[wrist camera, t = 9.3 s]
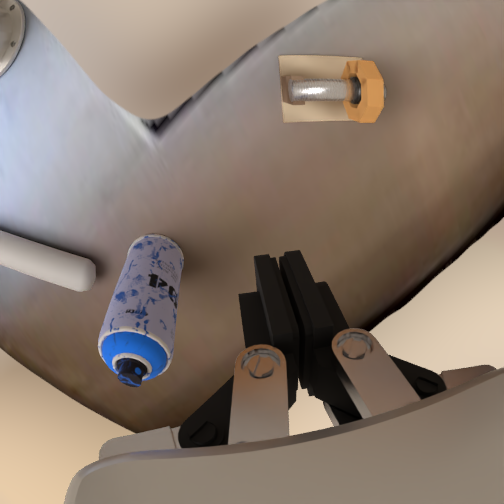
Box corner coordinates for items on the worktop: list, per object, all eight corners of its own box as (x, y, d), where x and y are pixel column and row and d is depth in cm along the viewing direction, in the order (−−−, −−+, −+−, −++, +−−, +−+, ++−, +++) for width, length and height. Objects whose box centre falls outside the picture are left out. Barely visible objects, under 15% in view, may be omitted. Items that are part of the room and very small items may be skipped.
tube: (95, 265, 37) (-46, 217, 29) (88, 303, 38) (-48, 252, 30) (103, 255, 42) (-28, 213, 34) (96, 289, 43) (-31, 244, 35)
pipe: (286, 76, 28) (293, 75, 26) (374, 78, 29) (387, 79, 26) (288, 103, 30) (295, 106, 27) (374, 103, 31) (387, 106, 28)
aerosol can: (196, 263, 43) (191, 386, 26) (155, 291, 44) (135, 411, 27) (156, 222, 39) (122, 338, 22) (116, 255, 41) (72, 371, 23)
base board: (278, 55, 30) (289, 51, 25) (360, 58, 31) (382, 56, 26) (283, 122, 34) (294, 129, 30) (361, 120, 35) (383, 127, 30)
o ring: (340, 61, 29) (366, 59, 24) (354, 62, 30) (382, 61, 24) (342, 116, 33) (367, 125, 27) (356, 116, 33) (383, 125, 27)
